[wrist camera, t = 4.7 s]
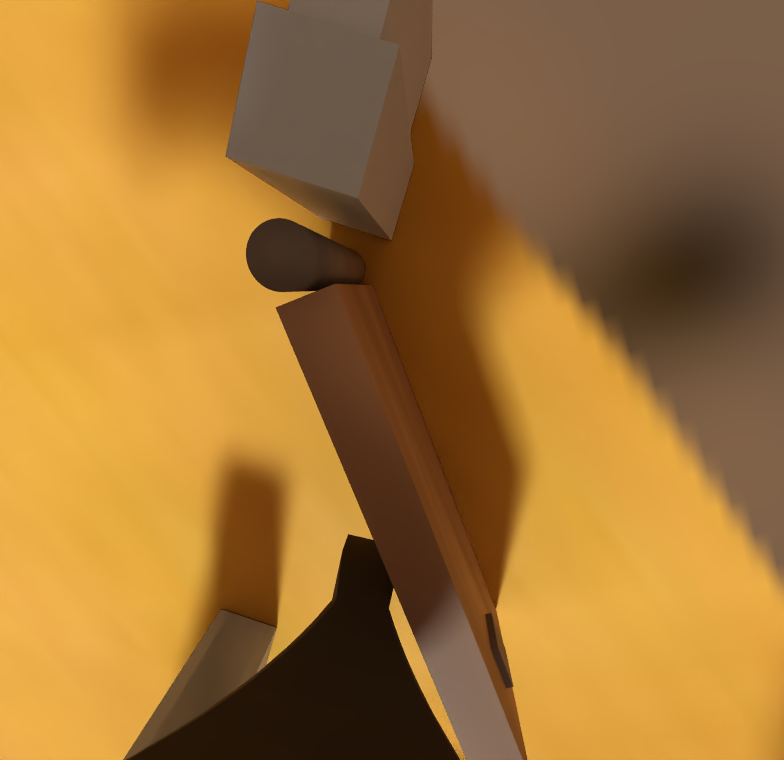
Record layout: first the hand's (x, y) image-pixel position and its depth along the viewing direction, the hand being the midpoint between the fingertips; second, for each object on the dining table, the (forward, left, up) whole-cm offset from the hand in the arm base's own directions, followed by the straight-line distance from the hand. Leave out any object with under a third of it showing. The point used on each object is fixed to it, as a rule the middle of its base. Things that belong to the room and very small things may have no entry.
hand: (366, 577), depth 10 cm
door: (0, -3, -2) cm, 3 cm away
